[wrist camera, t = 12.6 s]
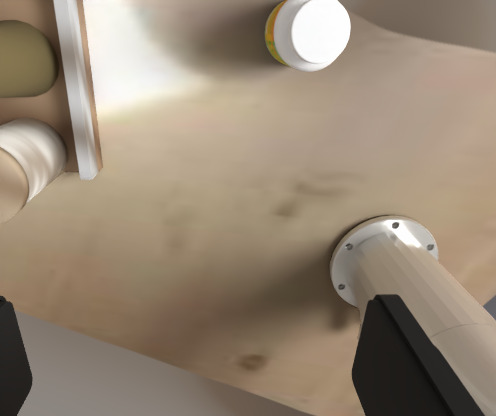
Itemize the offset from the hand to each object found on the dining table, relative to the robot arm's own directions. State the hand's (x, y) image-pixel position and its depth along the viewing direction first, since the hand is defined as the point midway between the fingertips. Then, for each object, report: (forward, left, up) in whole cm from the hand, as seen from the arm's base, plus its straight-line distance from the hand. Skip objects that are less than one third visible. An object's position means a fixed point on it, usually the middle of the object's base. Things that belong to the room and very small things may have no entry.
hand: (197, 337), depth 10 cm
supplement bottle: (+8, -7, -28) cm, 30 cm away
